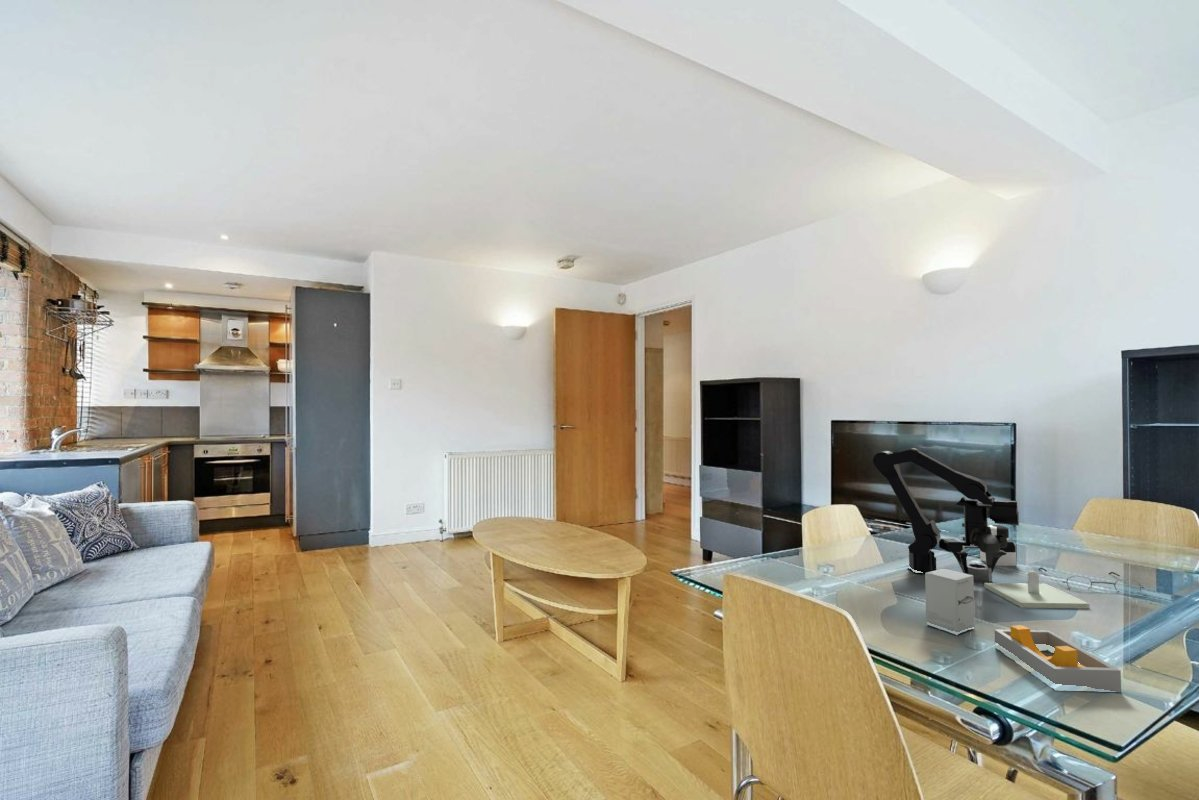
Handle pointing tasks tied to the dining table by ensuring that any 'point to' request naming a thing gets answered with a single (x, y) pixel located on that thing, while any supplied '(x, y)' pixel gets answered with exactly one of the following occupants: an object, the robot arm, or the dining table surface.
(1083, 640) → the dining table surface
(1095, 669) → the parts frame
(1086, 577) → the eyeglasses
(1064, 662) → the pipe clamp
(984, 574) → the hub ring
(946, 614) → the supplement box
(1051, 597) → the post board
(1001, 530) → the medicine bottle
